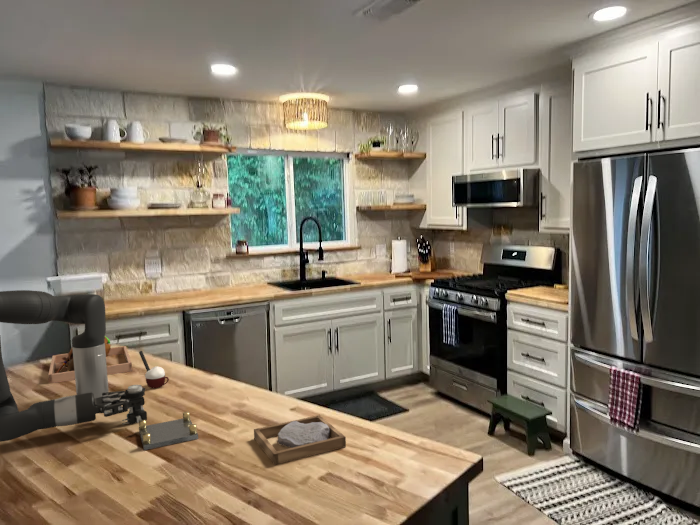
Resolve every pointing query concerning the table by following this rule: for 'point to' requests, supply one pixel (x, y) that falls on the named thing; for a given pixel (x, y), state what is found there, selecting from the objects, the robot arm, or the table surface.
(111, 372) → the wooden tray
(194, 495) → the table surface
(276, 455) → the block coaster frame
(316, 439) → the stone block
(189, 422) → the plate
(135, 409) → the push button
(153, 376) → the cocoa
